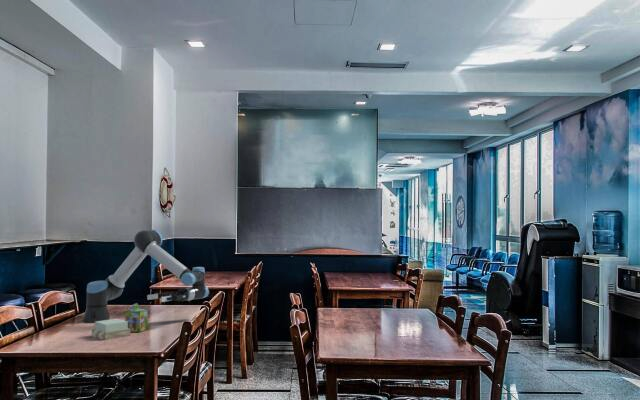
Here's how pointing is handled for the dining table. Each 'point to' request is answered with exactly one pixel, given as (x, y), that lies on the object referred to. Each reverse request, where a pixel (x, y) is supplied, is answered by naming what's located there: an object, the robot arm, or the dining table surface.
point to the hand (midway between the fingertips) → (154, 298)
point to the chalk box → (137, 319)
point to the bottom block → (110, 334)
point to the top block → (111, 325)
